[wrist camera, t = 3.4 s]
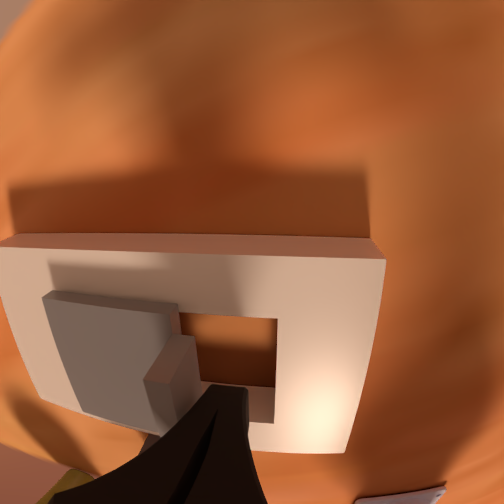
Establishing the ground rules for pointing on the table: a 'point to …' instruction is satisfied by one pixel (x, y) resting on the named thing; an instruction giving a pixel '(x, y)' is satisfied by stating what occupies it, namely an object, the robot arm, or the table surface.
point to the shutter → (125, 358)
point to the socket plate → (219, 313)
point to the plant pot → (67, 483)
